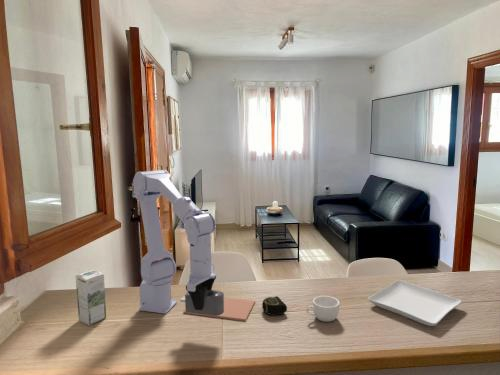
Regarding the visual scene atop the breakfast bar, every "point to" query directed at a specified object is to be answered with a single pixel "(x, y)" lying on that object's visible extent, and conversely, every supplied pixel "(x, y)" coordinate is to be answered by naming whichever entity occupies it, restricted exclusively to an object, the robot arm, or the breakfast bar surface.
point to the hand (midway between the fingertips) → (202, 304)
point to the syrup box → (91, 297)
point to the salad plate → (414, 302)
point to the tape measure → (273, 306)
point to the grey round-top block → (206, 303)
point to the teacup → (325, 308)
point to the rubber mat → (233, 309)
